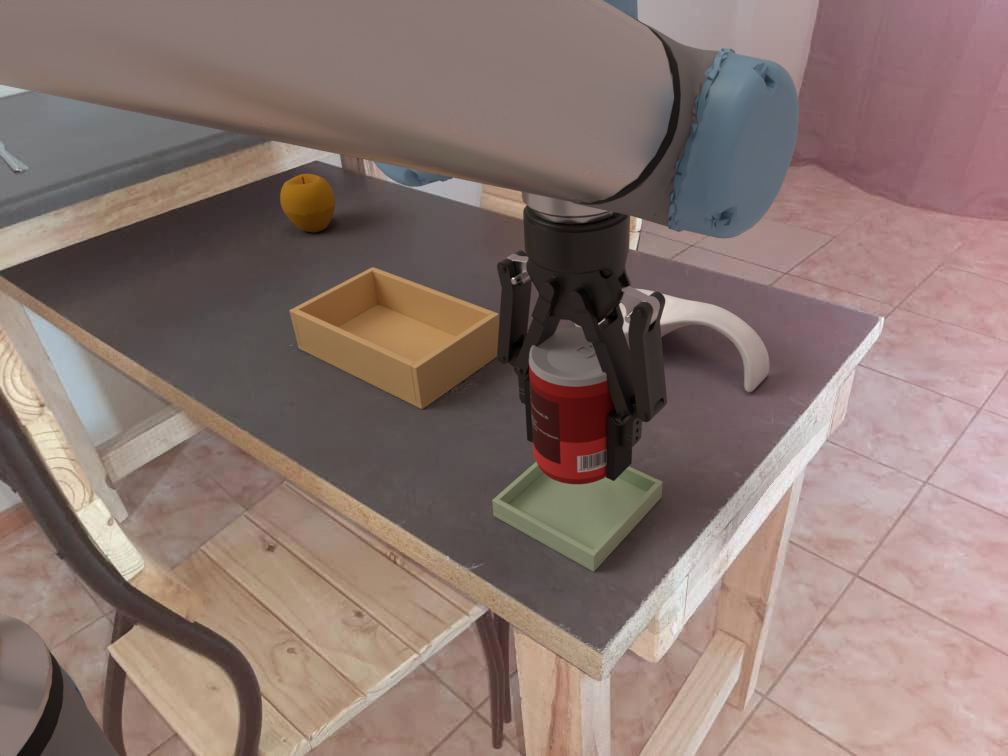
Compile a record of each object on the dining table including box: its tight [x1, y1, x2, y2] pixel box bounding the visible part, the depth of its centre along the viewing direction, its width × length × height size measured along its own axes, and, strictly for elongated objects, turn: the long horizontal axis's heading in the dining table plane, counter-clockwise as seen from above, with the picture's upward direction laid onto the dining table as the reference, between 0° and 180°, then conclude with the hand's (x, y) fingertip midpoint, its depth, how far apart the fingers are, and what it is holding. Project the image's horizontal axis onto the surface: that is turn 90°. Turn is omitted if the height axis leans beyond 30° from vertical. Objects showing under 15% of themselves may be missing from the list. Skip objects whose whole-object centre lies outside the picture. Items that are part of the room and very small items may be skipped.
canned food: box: [529, 326, 615, 485], centre depth 64 cm, size 8×8×11 cm
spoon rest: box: [573, 288, 770, 393], centre depth 89 cm, size 24×12×7 cm, turn 51°
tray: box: [491, 461, 663, 573], centre depth 70 cm, size 11×11×2 cm
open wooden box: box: [289, 266, 500, 410], centre depth 93 cm, size 22×14×6 cm, turn 50°
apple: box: [279, 173, 336, 233], centre depth 124 cm, size 8×8×9 cm
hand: (578, 451), depth 67 cm, fingers closed on canned food, 8 cm apart
